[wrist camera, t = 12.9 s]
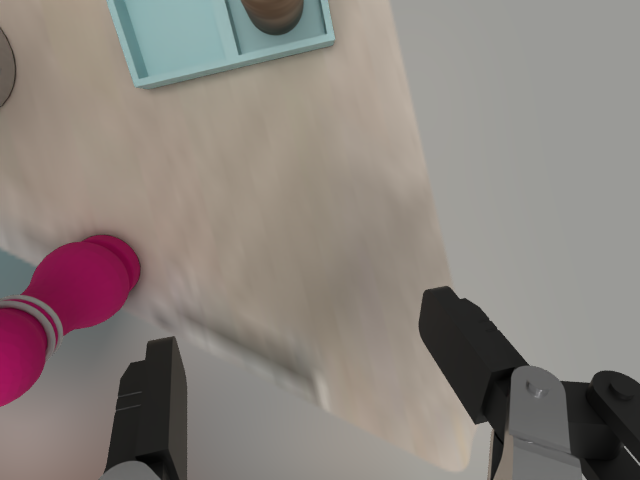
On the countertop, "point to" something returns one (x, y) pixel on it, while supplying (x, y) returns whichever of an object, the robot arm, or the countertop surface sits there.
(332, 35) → the socket block
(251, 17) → the walnut peg
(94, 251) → the pepper mill
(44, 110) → the countertop surface
